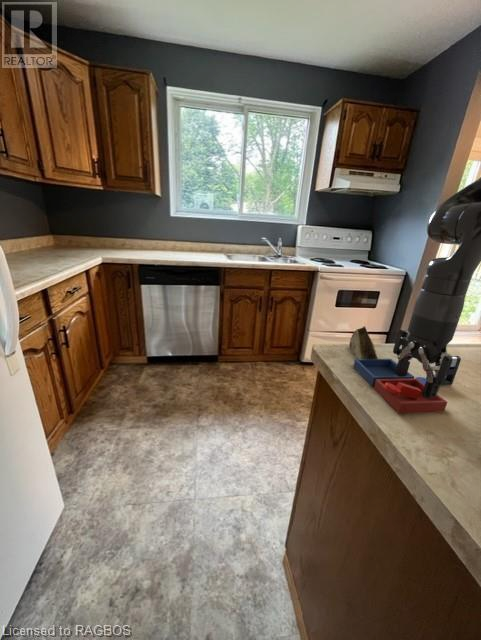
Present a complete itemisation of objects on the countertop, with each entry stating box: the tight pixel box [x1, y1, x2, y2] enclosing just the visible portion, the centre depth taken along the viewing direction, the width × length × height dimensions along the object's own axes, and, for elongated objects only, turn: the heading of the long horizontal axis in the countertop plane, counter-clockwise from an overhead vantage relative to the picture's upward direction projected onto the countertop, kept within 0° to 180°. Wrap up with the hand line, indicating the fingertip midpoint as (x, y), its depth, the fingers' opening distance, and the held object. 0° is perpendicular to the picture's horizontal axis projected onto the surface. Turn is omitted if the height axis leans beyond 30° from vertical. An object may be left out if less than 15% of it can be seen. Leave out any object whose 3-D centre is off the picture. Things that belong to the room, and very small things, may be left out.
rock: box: [348, 325, 378, 359], centre depth 76 cm, size 11×9×10 cm
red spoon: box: [384, 382, 422, 399], centre depth 58 cm, size 8×3×2 cm, turn 96°
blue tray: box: [353, 358, 415, 387], centre depth 68 cm, size 10×9×2 cm
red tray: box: [373, 377, 448, 414], centre depth 59 cm, size 10×9×2 cm
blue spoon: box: [415, 373, 447, 384], centre depth 65 cm, size 8×3×2 cm, turn 96°
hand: (413, 385), depth 58 cm, fingers open, 7 cm apart
